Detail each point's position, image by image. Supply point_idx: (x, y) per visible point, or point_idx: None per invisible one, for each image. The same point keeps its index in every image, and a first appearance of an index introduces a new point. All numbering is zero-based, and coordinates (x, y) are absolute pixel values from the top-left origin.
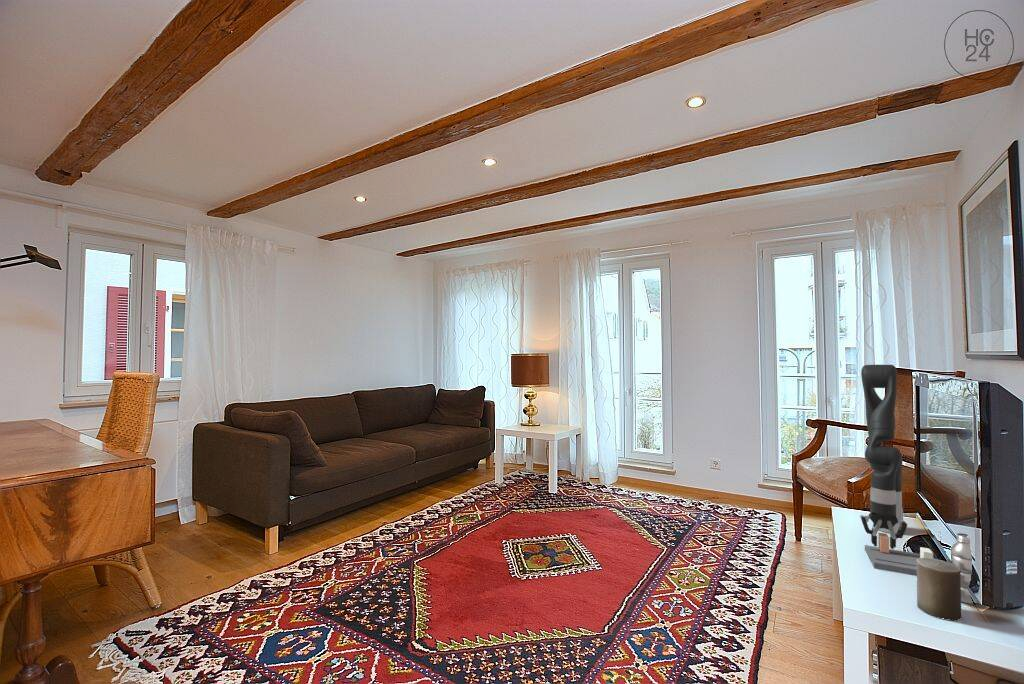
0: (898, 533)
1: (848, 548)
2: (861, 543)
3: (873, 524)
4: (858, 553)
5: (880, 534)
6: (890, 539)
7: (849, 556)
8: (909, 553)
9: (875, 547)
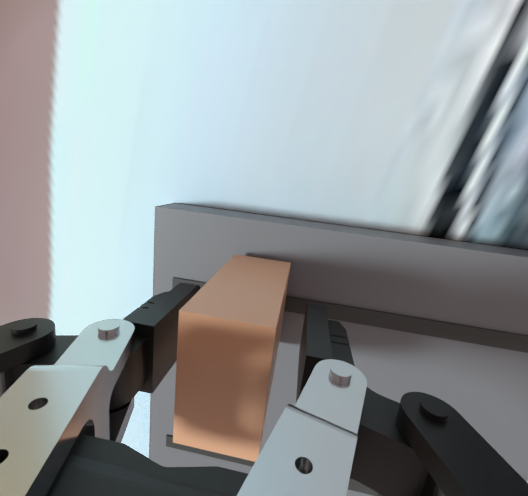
0: (419, 472)
1: (83, 204)
2: (185, 47)
3: (5, 417)
4: (127, 273)
5: (186, 380)
6: (301, 369)
7: (75, 335)
8: (457, 283)
9: (222, 233)
